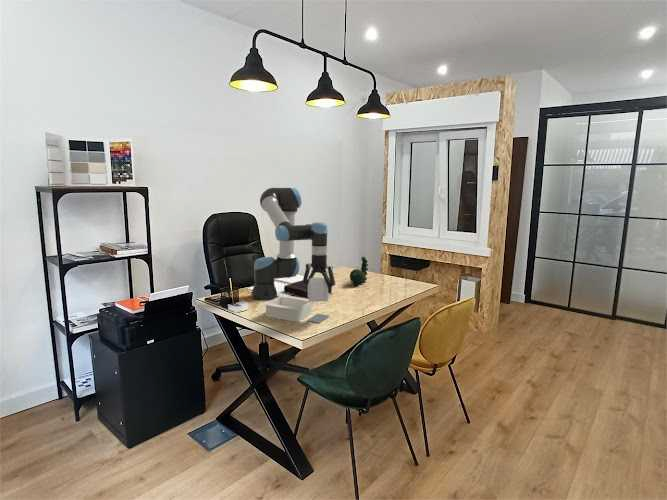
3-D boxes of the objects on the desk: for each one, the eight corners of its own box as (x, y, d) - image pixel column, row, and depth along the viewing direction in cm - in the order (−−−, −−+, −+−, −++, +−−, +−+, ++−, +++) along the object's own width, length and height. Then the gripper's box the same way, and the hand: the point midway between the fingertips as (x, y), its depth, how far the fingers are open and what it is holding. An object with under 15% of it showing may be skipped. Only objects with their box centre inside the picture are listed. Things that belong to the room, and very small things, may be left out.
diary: (313, 301, 233) (313, 292, 232) (283, 293, 248) (283, 285, 247) (333, 294, 247) (333, 286, 246) (304, 287, 263) (304, 279, 262)
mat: (306, 321, 197) (306, 320, 197) (317, 314, 208) (317, 313, 207) (319, 323, 194) (319, 322, 194) (329, 316, 205) (329, 315, 205)
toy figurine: (357, 281, 285) (345, 286, 262) (359, 255, 284) (347, 258, 261) (370, 283, 282) (359, 288, 259) (372, 256, 280) (360, 259, 257)
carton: (263, 317, 201) (263, 304, 199) (282, 307, 218) (282, 295, 217) (295, 323, 193) (295, 310, 192) (313, 312, 210) (313, 299, 209)
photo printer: (308, 302, 196) (308, 278, 194) (308, 299, 201) (308, 276, 199) (329, 302, 197) (329, 278, 195) (328, 299, 202) (328, 276, 200)
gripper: (295, 253, 196) (295, 296, 200) (336, 257, 187) (336, 302, 191) (302, 251, 203) (302, 293, 207) (343, 254, 194) (342, 298, 198)
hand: (318, 297), depth 199 cm, fingers closed on photo printer, 10 cm apart
